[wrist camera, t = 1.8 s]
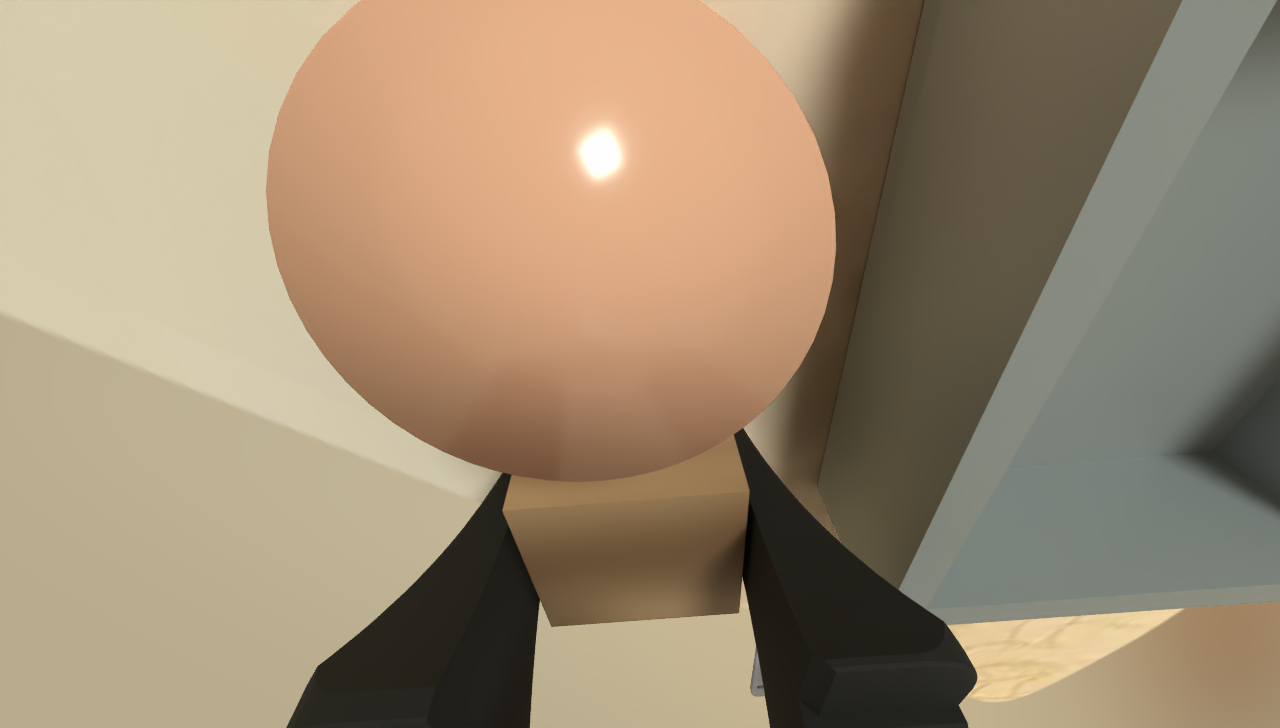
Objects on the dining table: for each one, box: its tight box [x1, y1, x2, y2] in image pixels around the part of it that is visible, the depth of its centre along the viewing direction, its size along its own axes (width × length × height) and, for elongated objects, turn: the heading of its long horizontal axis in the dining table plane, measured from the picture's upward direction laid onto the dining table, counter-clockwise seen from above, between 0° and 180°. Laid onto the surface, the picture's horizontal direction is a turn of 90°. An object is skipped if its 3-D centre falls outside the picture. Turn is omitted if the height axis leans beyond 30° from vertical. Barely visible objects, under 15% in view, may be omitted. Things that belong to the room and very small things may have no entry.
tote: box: [817, 0, 1280, 625], centre depth 9 cm, size 18×14×5 cm
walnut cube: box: [502, 434, 750, 627], centre depth 13 cm, size 5×5×5 cm
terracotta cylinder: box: [266, 0, 836, 482], centre depth 7 cm, size 5×5×7 cm
